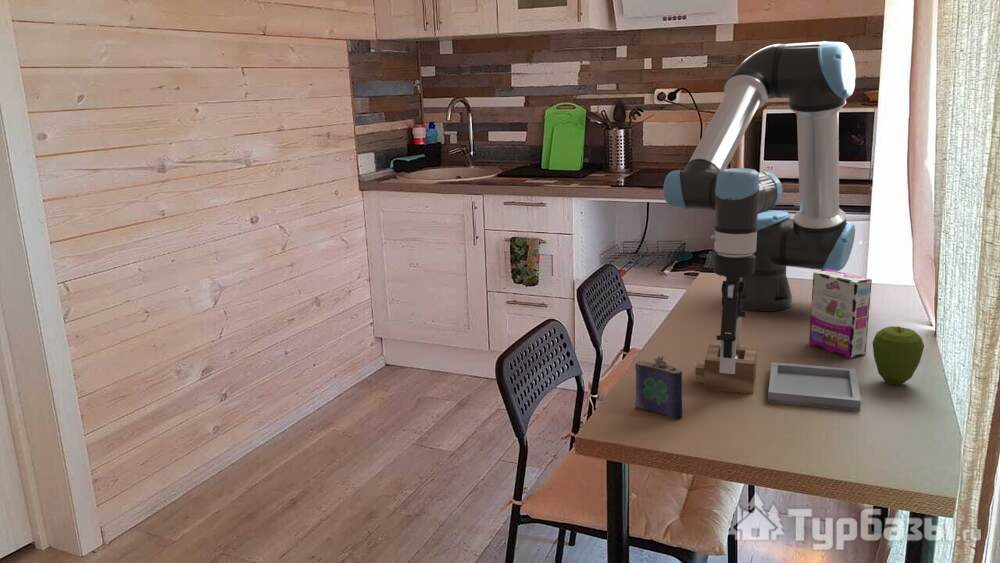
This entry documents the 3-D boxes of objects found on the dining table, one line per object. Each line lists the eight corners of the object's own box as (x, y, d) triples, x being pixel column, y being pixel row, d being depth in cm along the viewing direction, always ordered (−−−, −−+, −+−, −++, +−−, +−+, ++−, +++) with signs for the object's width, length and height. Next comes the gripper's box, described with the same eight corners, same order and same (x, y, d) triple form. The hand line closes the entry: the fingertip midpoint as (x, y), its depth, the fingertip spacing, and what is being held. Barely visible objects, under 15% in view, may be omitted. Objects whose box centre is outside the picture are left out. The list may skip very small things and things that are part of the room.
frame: (698, 371, 161) (699, 343, 160) (755, 376, 157) (756, 347, 156) (693, 388, 153) (693, 358, 151) (752, 393, 149) (754, 363, 148)
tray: (771, 371, 159) (771, 362, 159) (855, 378, 154) (855, 369, 153) (768, 402, 145) (768, 392, 145) (860, 411, 140) (860, 400, 140)
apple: (877, 392, 148) (882, 333, 145) (863, 374, 156) (868, 318, 153) (927, 392, 146) (933, 333, 143) (910, 375, 154) (916, 318, 151)
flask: (632, 408, 145) (632, 353, 143) (641, 403, 147) (641, 349, 145) (677, 422, 139) (678, 364, 136) (686, 416, 141) (687, 359, 139)
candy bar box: (867, 354, 166) (873, 278, 162) (850, 359, 164) (856, 282, 159) (823, 339, 176) (828, 267, 171) (807, 344, 173) (812, 271, 169)
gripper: (720, 238, 161) (716, 338, 166) (706, 267, 138) (702, 381, 143) (759, 240, 158) (754, 341, 163) (751, 269, 135) (746, 386, 141)
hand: (730, 360), depth 153 cm, fingers open, 13 cm apart
